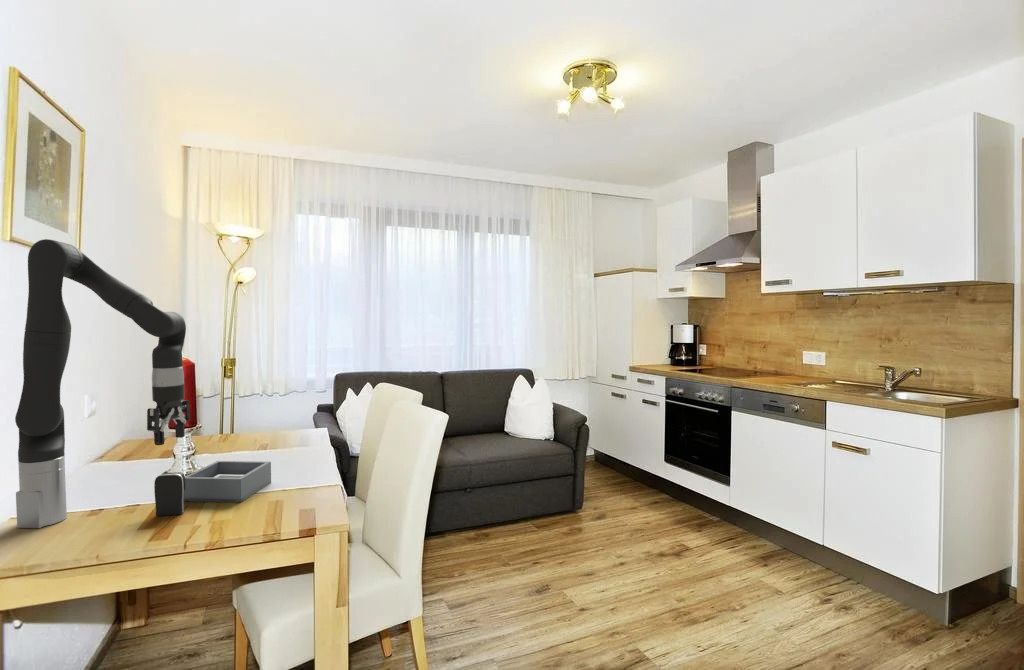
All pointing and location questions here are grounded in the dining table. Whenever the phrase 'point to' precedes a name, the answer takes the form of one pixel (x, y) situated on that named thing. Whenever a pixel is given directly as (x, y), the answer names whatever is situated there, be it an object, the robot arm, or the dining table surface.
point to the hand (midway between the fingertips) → (170, 440)
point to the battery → (169, 494)
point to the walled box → (227, 481)
